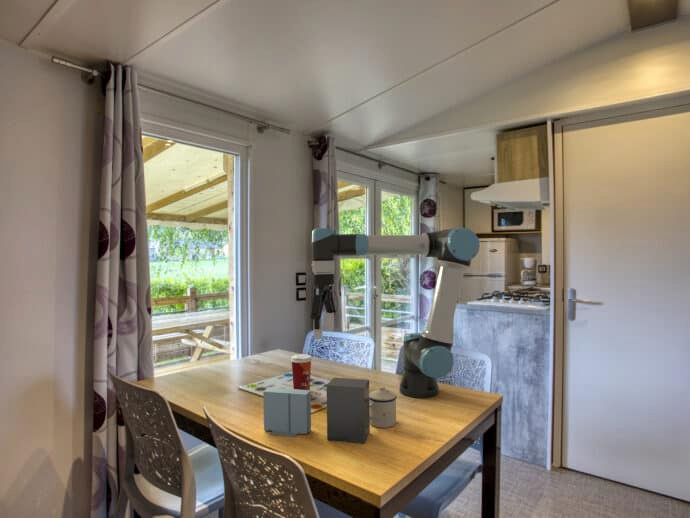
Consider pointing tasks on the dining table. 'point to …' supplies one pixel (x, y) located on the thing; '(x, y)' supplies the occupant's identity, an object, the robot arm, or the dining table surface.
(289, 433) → the pad
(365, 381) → the dark gray cuboid
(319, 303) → the robot arm
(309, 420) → the slate blue cuboid
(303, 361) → the coffee cup
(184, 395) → the dining table surface
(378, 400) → the teacup with lid
